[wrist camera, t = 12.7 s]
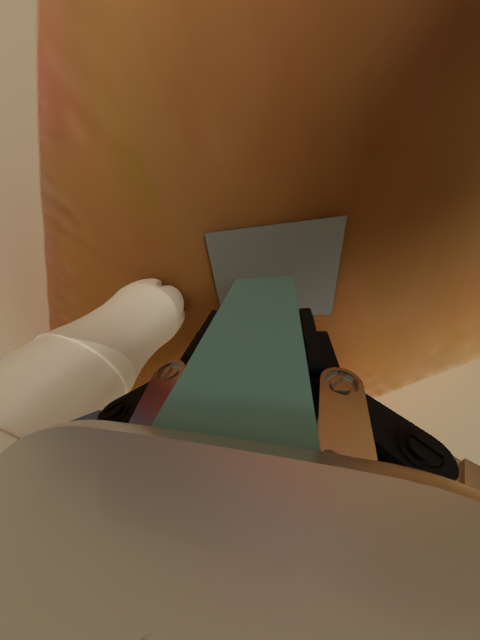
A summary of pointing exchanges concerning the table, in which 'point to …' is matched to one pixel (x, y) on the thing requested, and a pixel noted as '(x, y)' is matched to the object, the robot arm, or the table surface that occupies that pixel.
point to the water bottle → (86, 359)
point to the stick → (248, 371)
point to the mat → (282, 258)
